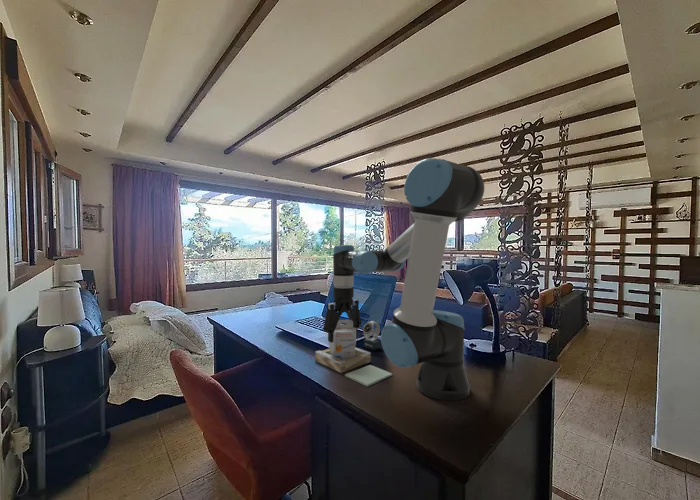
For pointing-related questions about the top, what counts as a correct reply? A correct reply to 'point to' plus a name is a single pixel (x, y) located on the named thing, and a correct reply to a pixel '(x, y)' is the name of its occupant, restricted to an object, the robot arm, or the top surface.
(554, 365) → the top surface
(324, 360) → the dispenser collar
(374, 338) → the watch
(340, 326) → the ink box
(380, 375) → the mat
